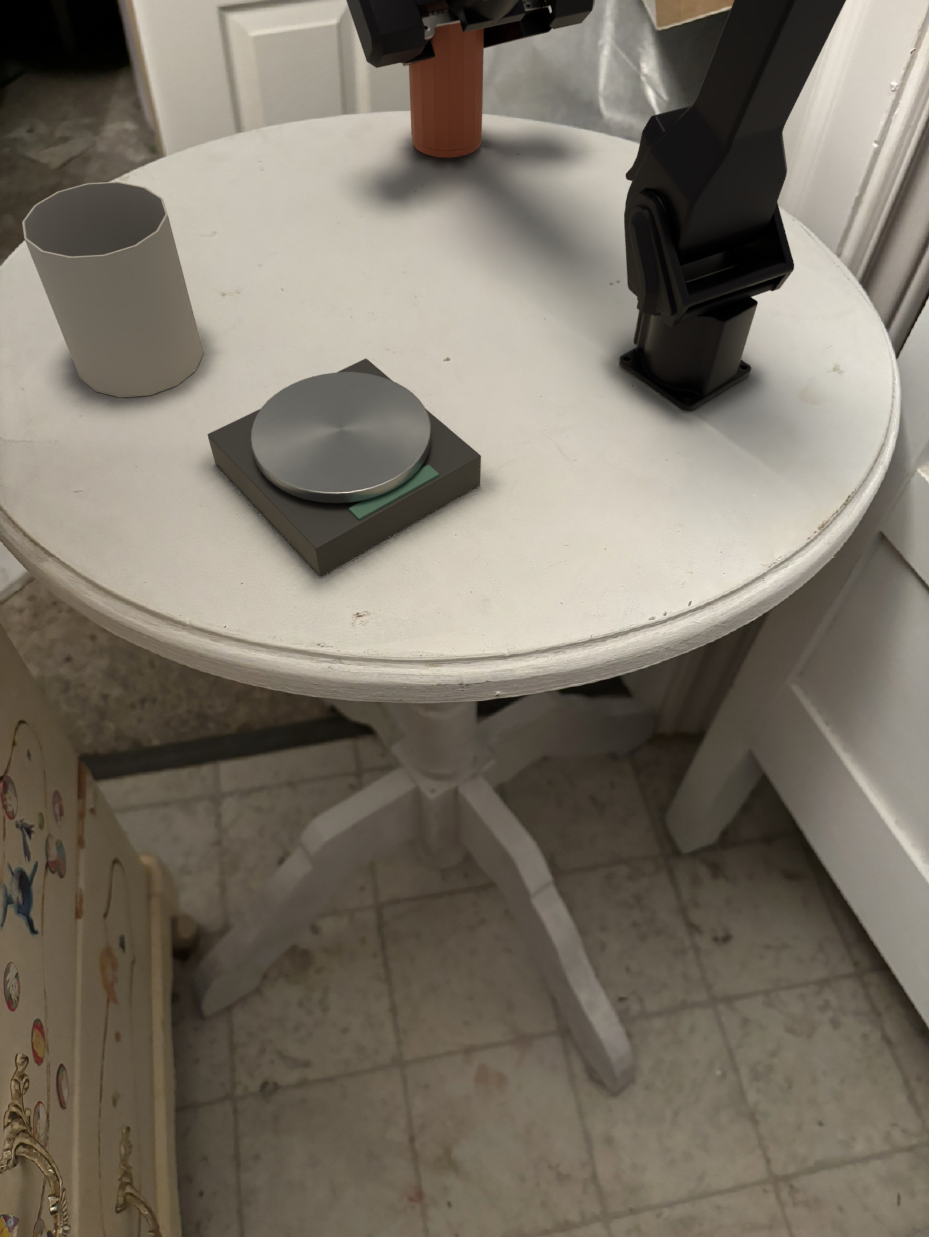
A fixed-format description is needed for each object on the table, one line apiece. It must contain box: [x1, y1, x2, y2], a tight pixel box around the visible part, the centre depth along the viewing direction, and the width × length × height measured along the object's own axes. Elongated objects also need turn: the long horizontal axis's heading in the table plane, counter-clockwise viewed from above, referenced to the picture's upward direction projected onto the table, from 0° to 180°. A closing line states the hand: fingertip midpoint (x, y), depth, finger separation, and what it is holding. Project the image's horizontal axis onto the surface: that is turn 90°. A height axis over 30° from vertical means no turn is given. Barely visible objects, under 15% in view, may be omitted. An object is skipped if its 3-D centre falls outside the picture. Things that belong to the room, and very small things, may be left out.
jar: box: [408, 10, 485, 158], centre depth 76 cm, size 6×6×12 cm
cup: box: [21, 181, 205, 398], centre depth 59 cm, size 8×8×10 cm
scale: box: [207, 358, 482, 577], centre depth 56 cm, size 12×12×3 cm
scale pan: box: [251, 371, 431, 503], centre depth 54 cm, size 10×10×1 cm
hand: (438, 51), depth 76 cm, fingers closed on jar, 6 cm apart
